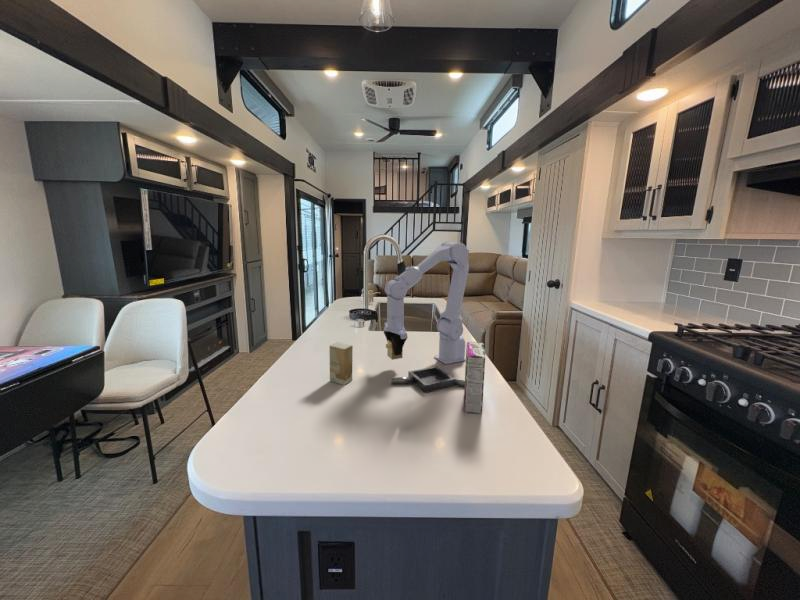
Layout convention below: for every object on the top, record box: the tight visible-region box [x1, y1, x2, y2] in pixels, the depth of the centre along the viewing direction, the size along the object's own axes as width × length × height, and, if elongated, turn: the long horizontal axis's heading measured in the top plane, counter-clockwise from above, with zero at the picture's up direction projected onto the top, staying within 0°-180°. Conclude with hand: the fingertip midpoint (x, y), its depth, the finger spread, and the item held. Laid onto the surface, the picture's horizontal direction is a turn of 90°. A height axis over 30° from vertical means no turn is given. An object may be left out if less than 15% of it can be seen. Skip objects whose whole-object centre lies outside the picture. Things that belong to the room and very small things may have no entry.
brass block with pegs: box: [385, 339, 404, 360], centre depth 112 cm, size 6×4×6 cm, turn 116°
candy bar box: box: [463, 341, 486, 415], centre depth 89 cm, size 11×5×16 cm, turn 168°
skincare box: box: [329, 341, 354, 386], centre depth 102 cm, size 6×4×12 cm
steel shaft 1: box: [390, 376, 414, 385], centre depth 102 cm, size 7×2×2 cm, turn 96°
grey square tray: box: [407, 365, 457, 394], centre depth 103 cm, size 11×11×2 cm
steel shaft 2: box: [454, 378, 465, 388], centre depth 100 cm, size 7×2×2 cm, turn 76°
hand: (395, 352), depth 113 cm, fingers closed on brass block with pegs, 4 cm apart
